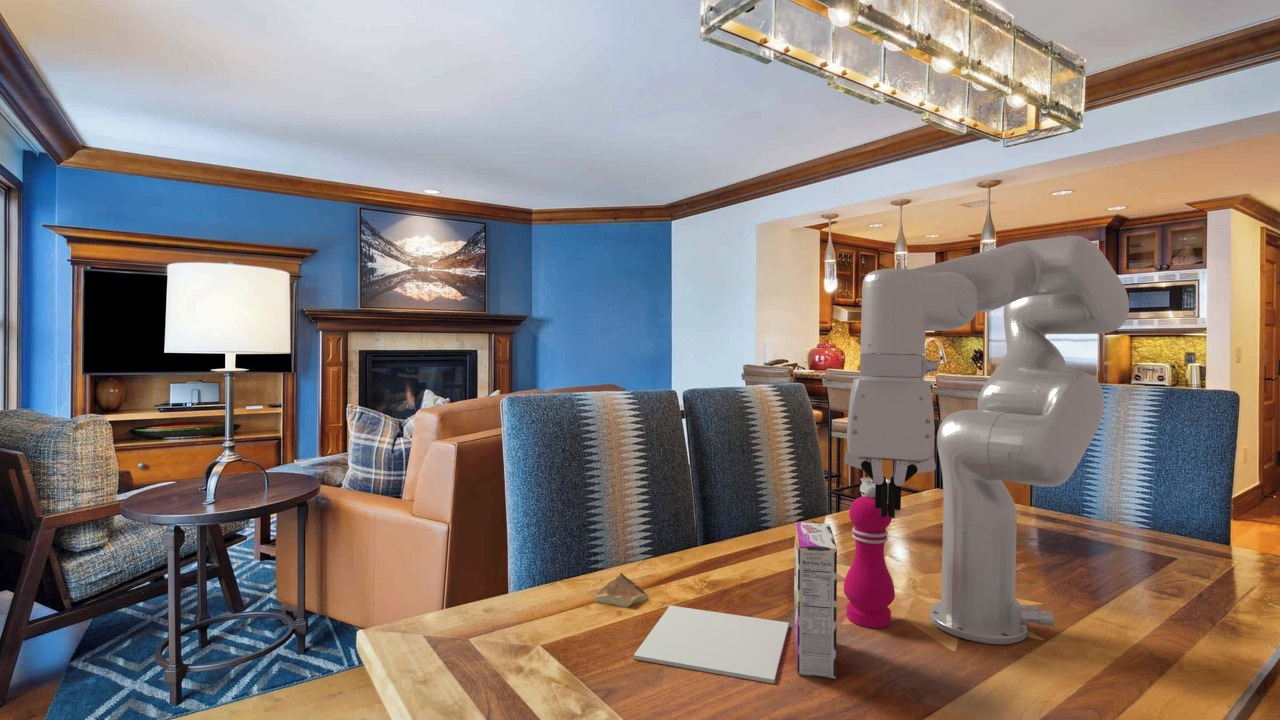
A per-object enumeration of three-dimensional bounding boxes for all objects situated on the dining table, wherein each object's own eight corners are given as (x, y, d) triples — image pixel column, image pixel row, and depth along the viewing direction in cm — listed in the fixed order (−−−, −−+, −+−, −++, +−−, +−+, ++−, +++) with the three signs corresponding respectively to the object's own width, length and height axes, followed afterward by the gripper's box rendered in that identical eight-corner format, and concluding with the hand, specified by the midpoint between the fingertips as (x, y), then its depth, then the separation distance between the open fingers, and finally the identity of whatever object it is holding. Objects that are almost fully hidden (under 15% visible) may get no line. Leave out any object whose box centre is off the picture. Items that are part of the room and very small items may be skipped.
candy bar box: (792, 636, 91) (794, 520, 90) (829, 640, 90) (831, 523, 89) (795, 676, 80) (797, 544, 79) (837, 681, 79) (839, 547, 78)
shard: (621, 581, 113) (621, 571, 113) (662, 588, 110) (662, 578, 110) (592, 604, 103) (592, 593, 103) (637, 612, 100) (637, 601, 100)
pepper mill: (888, 634, 92) (891, 494, 91) (837, 622, 96) (839, 487, 95) (898, 616, 98) (901, 485, 97) (849, 605, 102) (852, 479, 101)
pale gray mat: (788, 626, 94) (788, 622, 94) (774, 683, 78) (774, 679, 78) (669, 608, 100) (669, 605, 100) (633, 659, 84) (633, 655, 84)
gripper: (953, 370, 82) (948, 514, 82) (830, 366, 87) (826, 502, 87) (962, 371, 75) (957, 529, 75) (828, 367, 80) (823, 516, 80)
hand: (887, 514), depth 81 cm, fingers closed
